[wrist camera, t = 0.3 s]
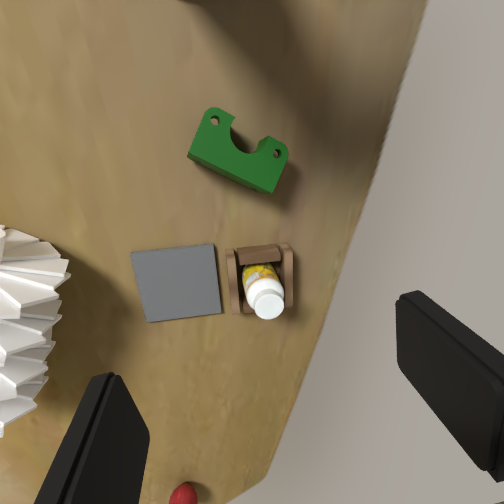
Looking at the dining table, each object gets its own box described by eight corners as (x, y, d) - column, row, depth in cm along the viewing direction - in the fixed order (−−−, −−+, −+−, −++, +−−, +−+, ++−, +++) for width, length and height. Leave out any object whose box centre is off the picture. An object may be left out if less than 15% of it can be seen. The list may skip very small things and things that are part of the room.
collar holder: (225, 249, 47) (226, 259, 44) (286, 242, 48) (292, 251, 45) (230, 302, 51) (232, 314, 48) (287, 295, 52) (292, 306, 49)
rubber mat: (131, 252, 45) (129, 254, 44) (213, 243, 46) (213, 245, 46) (147, 319, 50) (146, 322, 49) (221, 310, 51) (221, 312, 51)
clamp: (258, 150, 46) (300, 155, 39) (242, 187, 47) (281, 198, 40) (191, 104, 38) (228, 100, 32) (173, 149, 39) (206, 155, 32)
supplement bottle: (234, 273, 49) (240, 307, 40) (259, 251, 48) (271, 281, 39) (256, 293, 51) (266, 330, 42) (280, 273, 50) (296, 306, 41)
